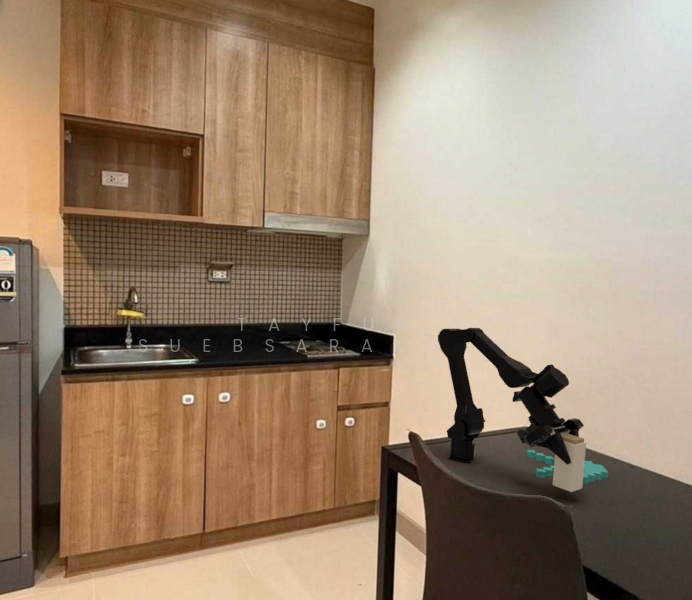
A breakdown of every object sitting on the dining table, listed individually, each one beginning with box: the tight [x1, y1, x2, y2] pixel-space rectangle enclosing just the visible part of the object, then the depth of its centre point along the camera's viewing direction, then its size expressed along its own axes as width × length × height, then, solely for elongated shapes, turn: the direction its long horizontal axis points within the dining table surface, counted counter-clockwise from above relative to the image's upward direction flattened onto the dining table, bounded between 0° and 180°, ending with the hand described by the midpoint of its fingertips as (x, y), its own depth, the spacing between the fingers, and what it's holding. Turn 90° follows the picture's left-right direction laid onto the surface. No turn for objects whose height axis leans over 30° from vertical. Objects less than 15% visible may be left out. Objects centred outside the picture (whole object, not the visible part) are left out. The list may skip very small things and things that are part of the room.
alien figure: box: [526, 449, 609, 485], centre depth 154 cm, size 20×2×20 cm
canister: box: [552, 434, 587, 493], centre depth 132 cm, size 5×5×12 cm
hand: (575, 462), depth 130 cm, fingers closed on canister, 5 cm apart
